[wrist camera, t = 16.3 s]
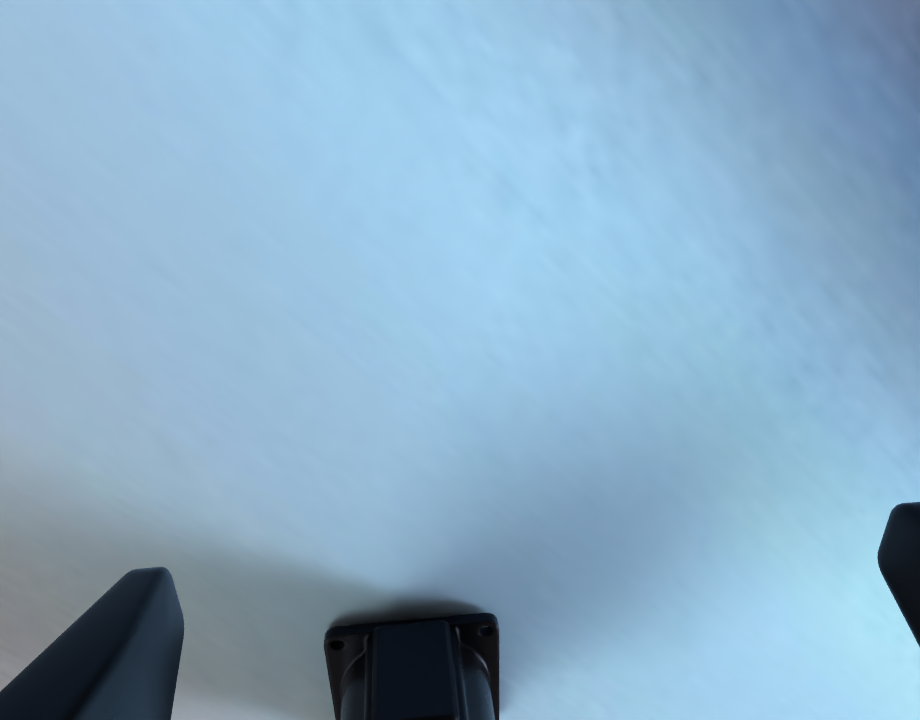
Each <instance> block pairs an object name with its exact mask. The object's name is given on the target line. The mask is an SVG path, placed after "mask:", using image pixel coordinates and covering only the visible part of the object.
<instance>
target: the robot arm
mask: <svg viewBox="0 0 920 720" xmlns="http://www.w3.org/2000/svg"><path fill="white" fill-rule="evenodd" d="M878 564H879V568H880V571H881V573H882V575H883V577H884V579H885V581H886V583H887V585H888V587H889V589H890V591H891V593H892V594H893V596H894V598H895V600H896V602H897V604H898V606H899V608H900V610H901V612H902V614H903V616H904V618H905V619H906V621H907V623H908V625H909V627H910V629H911V631H912V633H913V635H914V637H915V639H916V641H917V643H918V645H919V646H920V502H913V503H902V504H899V505H896V506H895V507H894V508H893V510H892V511H891V513H890V516H889V519H888V522H887V525H886V528H885V531H884V534H883V537H882V540H881V543H880V547H879V550H878ZM484 626H487V627H484ZM183 636H184V619H183V614H182V610H181V607H180V603H179V600H178V596H177V593H176V589H175V586H174V582H173V579H172V576H171V573H170V572H169V570H168V569H166V568H164V567H154V568H143V569H135V570H131V571H130V572H128V573H127V574H125V575H124V576H123V577H122V578H121V579H120V580H119V581H118V582H117V583H116V584H115V585H114V586H113V587H111V588H110V589H109V590H108V591H107V592H106V593H105V594H104V595H103V596H102V597H101V598H100V599H99V600H98V601H97V602H95V603H94V604H93V605H92V606H91V607H90V608H89V609H88V610H87V611H86V612H85V613H84V614H83V615H82V616H81V617H79V618H78V619H77V620H76V621H75V622H74V623H73V624H72V625H71V626H70V627H69V628H68V629H67V630H66V631H65V632H63V633H62V634H61V635H60V636H59V637H58V638H57V639H56V640H55V641H54V642H53V643H52V644H51V645H50V646H49V647H47V648H46V649H45V650H44V651H43V652H42V653H41V654H40V655H39V656H38V657H37V658H36V659H35V660H34V661H32V662H31V663H30V664H29V665H28V666H27V667H26V668H25V669H24V670H23V671H22V672H21V673H20V674H19V675H18V676H16V677H15V678H14V679H13V680H12V681H11V682H10V683H9V684H8V685H7V686H6V687H5V688H4V689H3V690H2V691H0V720H171V714H172V707H173V701H174V694H175V688H176V682H177V675H178V669H179V662H180V656H181V650H182V643H183ZM335 640H341V641H335ZM324 650H325V656H326V663H327V669H328V675H329V681H330V687H331V693H332V699H333V706H334V712H335V718H336V720H499V626H498V621H497V618H496V617H495V616H494V615H493V614H490V613H479V614H468V615H457V616H447V617H436V618H425V619H415V620H404V621H393V622H383V623H372V624H361V625H351V626H340V627H334V628H331V629H329V630H328V631H327V632H326V633H325V639H324Z"/></svg>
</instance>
